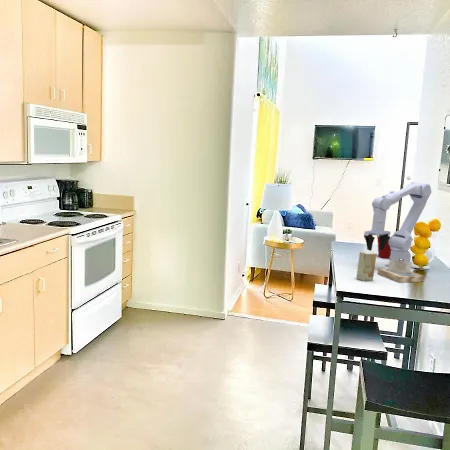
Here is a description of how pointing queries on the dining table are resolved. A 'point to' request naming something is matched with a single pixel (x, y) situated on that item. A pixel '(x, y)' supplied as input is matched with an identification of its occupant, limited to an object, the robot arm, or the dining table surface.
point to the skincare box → (366, 266)
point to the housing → (400, 266)
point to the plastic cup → (386, 251)
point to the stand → (400, 276)
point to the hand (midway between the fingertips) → (375, 249)
